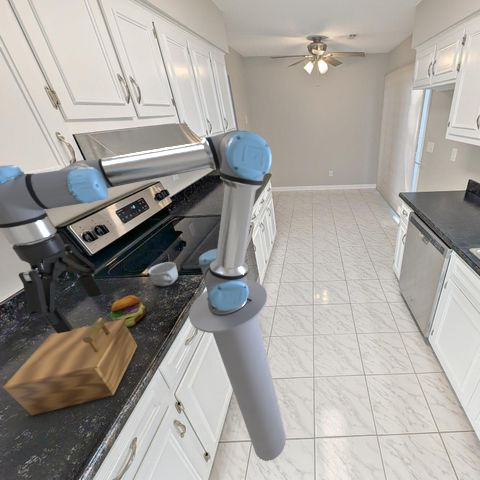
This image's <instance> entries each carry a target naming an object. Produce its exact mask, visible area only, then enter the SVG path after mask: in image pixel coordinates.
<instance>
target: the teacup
mask: <svg viewBox="0 0 480 480" xmlns="http://www.w3.org/2000/svg"><path fill="white" fill-rule="evenodd" d="M147 274H148V275H149V278H150V280H151V282H152V284H153V285H155V286H158V287H166V286H167V287H168V286H170V285H172V284H174V282H175V281H176V280H177V279H178V278H179V273H178V269H177V264H176V263H175V262H173V261H166V262H165V261H164V262H161V263H158V264H155V265H153V266H151V267H150V268H149V269H148V270H147Z"/></svg>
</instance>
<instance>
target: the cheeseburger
mask: <svg viewBox="0 0 480 480" xmlns="http://www.w3.org/2000/svg"><path fill="white" fill-rule="evenodd" d="M141 301H142V298H141V299H140V298H139V297H138V296H137V295H131V294H130V295H127V296H123V297H122V298H120V299H118V300H116V301H114V302H113V303H112V306H111V313H110V314H109V318H111V319H112V320H113V321H117V320H122V319H126V322H125V325H126V326H127V328H131V327H134V326H135V325H136V323H137V322H138V321H140V320H142V319H143V317H144V316H145V315H146V310H145V308H146V307H145V305H143V303H142V302H141Z"/></svg>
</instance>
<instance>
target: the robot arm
mask: <svg viewBox="0 0 480 480" xmlns="http://www.w3.org/2000/svg"><path fill="white" fill-rule="evenodd" d="M272 157H273V155H272V152H271V148H270V146H269V144H268V143H267V142H266V140H265V139H264V138H263V137H262V136H260V135H258V134H256V132H252V131H249V130H237V129H235V130H229V131H225V132H223V133H220V134H216V135H213V136H206V137H203V138H202V140H201V141H199V142H193V143H187V144H180V145H174V146H169V147H168V146H167V147H163V148H157V149H150V150H144V151H138V152H132V153H126V154H120V155H114V156H108V157H107V156H106V157H102V158H96V159H90V160H88V159H87V160H86V159H82V160H76V161H74V162H72V163H70V164H69V165H67V166H64V167H62V168H61V169H57V170H51V171H50V170H49V171H44V172H35V173H25V172H24V171H23V170H22V169H21V167H19V166H18V165H15V164H8V165H0V231H1V233H2V235H3V236H4V237H5V239H6V240H7V242H8V243H9V244H10V245H12V250H13V252H14V253H15V254H16V255H17V257H18V258H19V260H20V261H22V262H25V263H27V264H29V265H30V269H29V270H28V271H21V272H19V273H18V277H19V279H20V281H21V283H22V286H23V290H24V295H25V302H26V306H27V313H28V317H29V318H30V319H34V318H35V319H36V318H39V317H42V318H43V319H44V320H45V322H46V323H47V324H48V326H52V328H53V329H54V331H55V333H63V332H68V331H71V330H72V329H74V328H73V326H72V325H71V323H70V322H69V321H68V319H67V318H66V316H65V315H64V313H63V312H62V311H61V309H60V308H59V307H56V282H57V281H58V280H59V276H60V275H62V273H63V272H65V271H67V272H70V273H73V274H74V275H78V276H79V277H78V280H79V282H80V284H81V285H82V287H83V289H84V290H85V292H86V294H87V295H88V297H89V298H93V297H97V296H102V295H103V293H102V290H101V289H100V287H99V285H98V284H97V282H96V279H95V278H94V275H93V274H96V270H95V265H94V263H92V262H91V261H90V260H89V259H87V258H86V257H85V256H84V255H82V254H81V253H80V252H79V251H78V250H76V248H75V247H74V245H73V244H71V243H70V244H65V242H64V240H63V239H62V237H61V236H60V234H59V233H57V231H58V229H57V228H56V227H55V224H54V223H53V222H52V220H51V218H50V216H49V214H48V213H47V212H46V210H51V209H56V208H64V207H70V206H74V205H75V206H76V205H81V204H82V205H83V204H91V203H94V202H97V201H103V200H105V199H107V198H108V195H109V193H108V191H109V190H108V189H112V188H115V187H119V186H120V187H121V186H125V185H129V184H135V183H139V182H144V181H149V180H154V179H160V178H165V177H170V176H175V175H180V174H185V173H189V172H195V171H200V170H205V169H212V170H213V171H217V170H220V175H219V178H220V180H221V181H222V182H223V183H224V190H223V199H222V207H221V215H220V223H219V231H218V240H217V248H213V249H210V250H207V251H205V252H204V253H202V254H201V255H200V256H199V257H198V263H199V264H198V265H199V266H200V270H201V273H202V275H203V280H204V284H205V287H206V291H207V292H208V299H207V301H208V307H209V310H210V312H211V313H213V314H215V315H219V316H224V315H230V314H233V313H235V312H237V311H239V310H241V309H242V308H243V307H244V306H245V305H246V304H247V302H248V300H249V301H251V299H249V296H248V295H249V290H248V286H247V285H246V280H248V279H247V278H248V272H249V266H248V264H247V263H246V262H245V261H246V254H247V249H248V243H249V237H250V236H249V235H250V230H251V224H252V217H253V211H254V204H255V198H256V197H255V196H256V193H257V190H259V189H260V188H261V187H262V186H263V183H264V176H265V175H266V174H267V173H268V172H269V170H270V168H271V166H272Z"/></svg>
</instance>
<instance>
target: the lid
mask: <svg viewBox="0 0 480 480" xmlns="http://www.w3.org/2000/svg"><path fill="white" fill-rule="evenodd" d="M125 322H126V319H122V320H117V321H114V320H112V321H107V319H105V318H104V317H99V318H97V319H96V320H95V322H94V323H93V324H92V325H88V326H82V327H77V328H73V329H72V330H71V331H68V332H63V333H57V332H53V333H50V335H49V336H47V338H46V339H45V340H44V341H43V342H42V343H41V344H40V345H39V347H38V348H37V349H36V350H34V352H33V353H32V354H31V356H29V358H28V359H27V360H26V361H25V362H24V363H23V364H22V366H21V367H20V368H19V369H18V370H17V371H16V372H15V374H13V375H12V377H11V378H10V379H9V380H8V381H7V382H6V383H5V385H3V387H2V388H3V389H4V390H5V389H8V388H13V387H17V386H21V385H26V384H30V383H34V382H39V381H43V380H47V379H52V378H56V377H60V376H65V375H69V374H74V373H78V372H82V371H87V370H91V369H95V368H98V367H99V366H100V364H101V362H102V361H103V359H104V357H105V356H106V354H107V352H108V351H109V349H110V347H111V346H112V344H113V342H114V341H115V339H116V337H117V335H118V334H119V332H120V330H121V329H122V327H123V325H124V324H125Z"/></svg>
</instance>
